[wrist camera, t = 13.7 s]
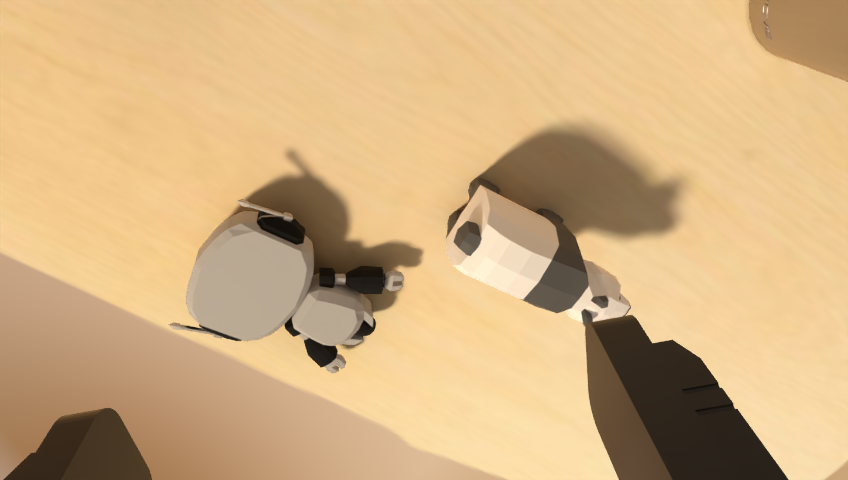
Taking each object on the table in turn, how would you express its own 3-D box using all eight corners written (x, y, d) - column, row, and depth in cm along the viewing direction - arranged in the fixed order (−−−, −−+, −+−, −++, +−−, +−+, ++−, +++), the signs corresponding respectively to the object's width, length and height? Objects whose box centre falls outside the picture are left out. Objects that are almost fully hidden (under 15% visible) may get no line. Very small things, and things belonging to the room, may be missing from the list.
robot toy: (409, 253, 51) (237, 172, 45) (417, 285, 47) (230, 200, 41) (336, 356, 55) (171, 294, 49) (338, 393, 51) (159, 330, 45)
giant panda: (429, 222, 48) (443, 288, 40) (465, 163, 46) (488, 220, 38) (577, 291, 53) (617, 364, 44) (616, 240, 50) (666, 306, 42)
